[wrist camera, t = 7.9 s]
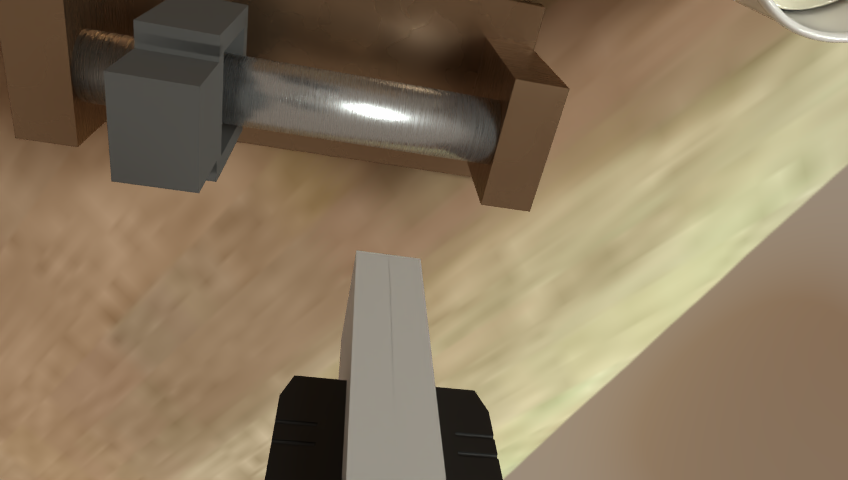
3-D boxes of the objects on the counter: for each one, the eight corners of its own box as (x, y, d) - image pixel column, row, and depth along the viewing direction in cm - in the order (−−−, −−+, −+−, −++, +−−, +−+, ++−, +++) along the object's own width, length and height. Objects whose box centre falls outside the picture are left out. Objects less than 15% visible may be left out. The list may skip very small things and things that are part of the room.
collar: (178, -8, 27) (101, 39, 19) (248, 5, 27) (200, 56, 19) (180, 120, 30) (113, 205, 22) (242, 129, 30) (198, 216, 22)
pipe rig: (76, -91, 28) (-29, -79, 21) (541, 4, 32) (592, 43, 24) (93, 112, 33) (13, 181, 26) (493, 173, 37) (524, 248, 29)
